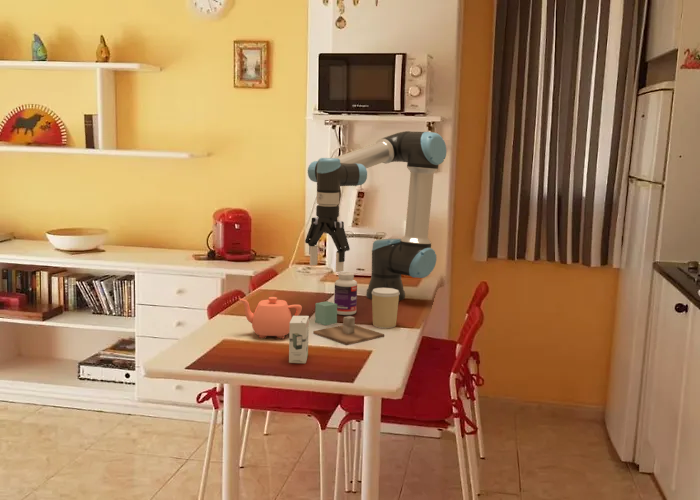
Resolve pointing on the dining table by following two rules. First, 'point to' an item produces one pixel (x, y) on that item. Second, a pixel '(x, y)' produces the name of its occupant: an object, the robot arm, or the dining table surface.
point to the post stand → (348, 332)
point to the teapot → (271, 317)
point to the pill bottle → (346, 294)
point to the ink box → (298, 339)
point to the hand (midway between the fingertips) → (326, 268)
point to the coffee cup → (385, 307)
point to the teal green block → (326, 313)
